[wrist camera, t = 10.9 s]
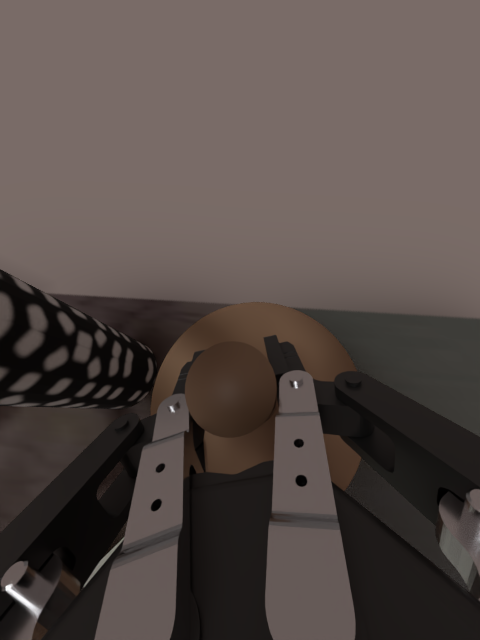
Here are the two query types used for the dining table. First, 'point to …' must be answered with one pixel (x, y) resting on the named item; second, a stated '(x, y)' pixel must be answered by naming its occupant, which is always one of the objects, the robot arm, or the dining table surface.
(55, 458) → the dining table surface
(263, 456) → the walnut lid
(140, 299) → the dining table surface
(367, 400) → the robot arm
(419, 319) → the dining table surface
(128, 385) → the spotted tube
